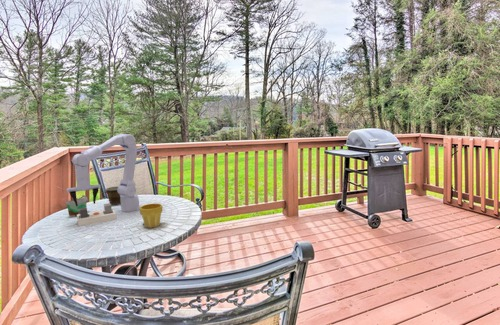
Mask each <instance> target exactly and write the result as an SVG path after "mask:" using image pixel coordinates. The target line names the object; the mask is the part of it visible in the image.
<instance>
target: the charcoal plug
mask: <svg viewBox="0 0 500 325" xmlns="http://www.w3.org/2000/svg"><path fill="white" fill-rule="evenodd" d="M103 209H104V211H105V214H110V213H112V209H113V208H112V205H111V204H110V202H109V203H104V204H103Z"/></svg>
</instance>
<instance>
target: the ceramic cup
mask: <svg viewBox="0 0 500 325" xmlns="http://www.w3.org/2000/svg"><path fill="white" fill-rule="evenodd" d="M117 188H118V186H111V187H106V189H105V190H104V191H103V192H101V193H102V194H101V195H102V197H104V198H106V199H107V200H108V202H109V203H110V204H111V206H119V205H121V200H120V194H119V193H118V192H117ZM104 193H105V194H106V196H105V195H104Z"/></svg>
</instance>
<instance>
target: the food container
mask: <svg viewBox="0 0 500 325" xmlns="http://www.w3.org/2000/svg"><path fill="white" fill-rule="evenodd" d="M76 199H77V204H78V206H76V204H75V202H74V200H73V199H72V200H66V201H65V205H66V208H67V210H68V216H69V217H71V218H72V217H77V215H78V214H80V208H84V207H87V202H88V201H89V199H88V197H87V195H85V194H84V195H83V194H82V196H81V197H76Z"/></svg>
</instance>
